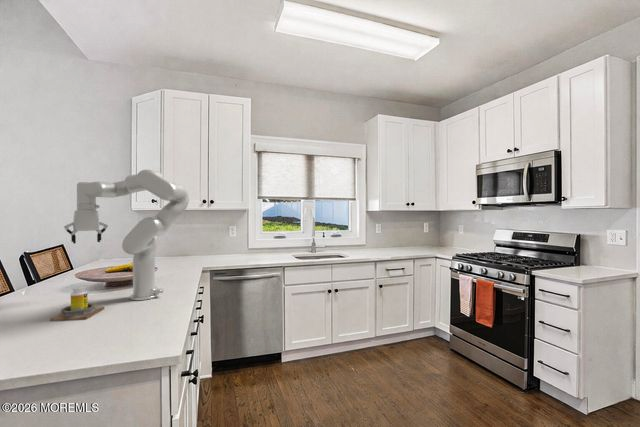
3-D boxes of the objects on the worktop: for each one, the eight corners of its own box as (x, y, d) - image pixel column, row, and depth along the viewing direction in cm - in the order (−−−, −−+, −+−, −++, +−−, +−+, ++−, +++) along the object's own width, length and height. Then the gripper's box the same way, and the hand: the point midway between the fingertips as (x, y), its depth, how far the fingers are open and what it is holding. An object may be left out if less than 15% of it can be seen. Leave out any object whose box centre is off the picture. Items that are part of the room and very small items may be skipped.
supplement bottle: (86, 313, 131) (85, 288, 131) (69, 315, 129) (68, 289, 129) (89, 309, 136) (88, 285, 136) (73, 311, 134) (72, 286, 134)
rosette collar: (104, 309, 140) (104, 302, 140) (86, 319, 127) (86, 311, 127) (71, 310, 138) (71, 303, 138) (50, 320, 125) (50, 313, 125)
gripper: (106, 207, 166) (106, 240, 166) (63, 207, 154) (63, 243, 154) (108, 207, 160) (109, 242, 160) (64, 207, 148) (64, 244, 149)
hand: (86, 242), depth 157 cm, fingers open, 9 cm apart
